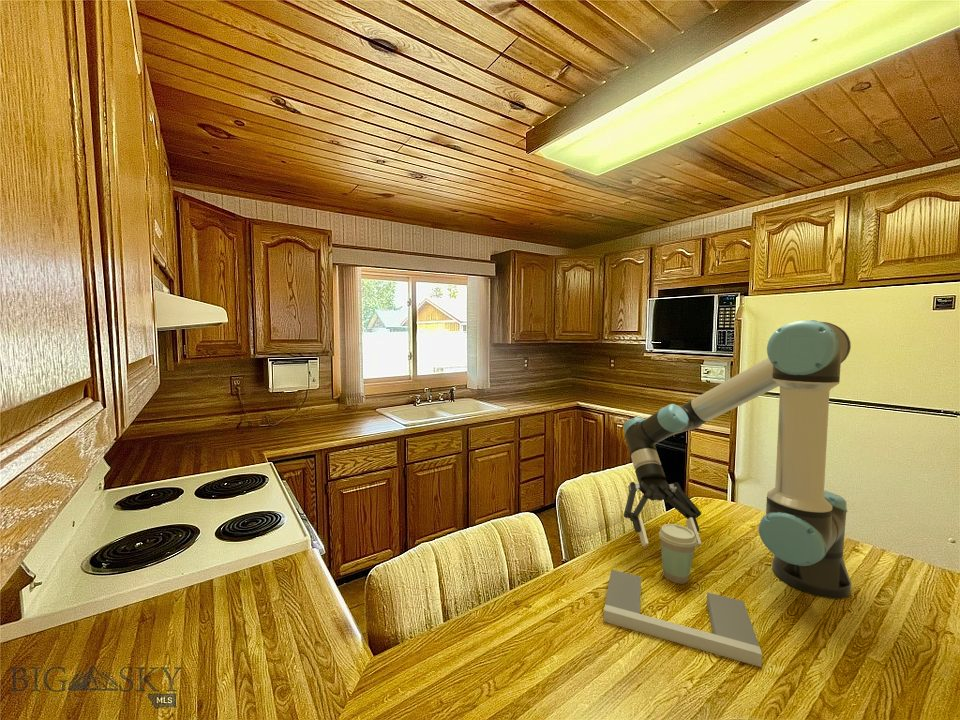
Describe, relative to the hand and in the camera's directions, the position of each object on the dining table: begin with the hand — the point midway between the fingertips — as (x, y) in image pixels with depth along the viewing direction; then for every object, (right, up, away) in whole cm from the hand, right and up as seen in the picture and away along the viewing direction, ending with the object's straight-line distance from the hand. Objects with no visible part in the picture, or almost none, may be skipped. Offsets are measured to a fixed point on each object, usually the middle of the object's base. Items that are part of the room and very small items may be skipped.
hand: (671, 545), depth 100 cm
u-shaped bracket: (-6, -8, -14) cm, 18 cm away
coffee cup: (+1, -8, -1) cm, 8 cm away
